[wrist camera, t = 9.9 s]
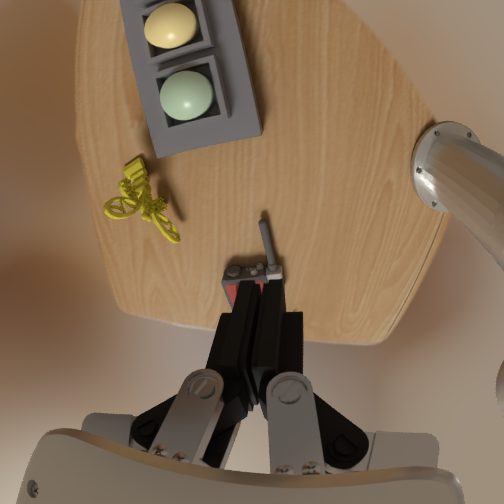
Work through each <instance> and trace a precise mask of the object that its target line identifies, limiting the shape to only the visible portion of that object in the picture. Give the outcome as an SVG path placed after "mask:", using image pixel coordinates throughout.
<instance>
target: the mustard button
mask: <svg viewBox="0 0 504 504" xmlns="http://www.w3.org/2000/svg"><path fill="white" fill-rule="evenodd" d="M199 30H200V22H199V18H198V16H197V15H196V14H195V13H194V12H192V11H191V10H190V9H188V8H187V7H186V6H184V5H182V4H178V3H170V4H166V5H163V6H161V7H159V8H157V9H156V10H154V11H153V12H152V13H151V14H150V16H149V17H148V19H147V21H146V23H145V27H144V33H145V37H146V39H147V40H148V41H149V42H150V43H151V44H153V45H155V46H158V47H162V48H166V49H171V50H175V49H178V48H181V47H184V46H187V45H189V44H190V43H191V42H192V41H193V40H194V39H195V38H196V37H197V35H198V33H199Z"/></svg>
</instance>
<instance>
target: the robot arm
mask: <svg viewBox="0 0 504 504" xmlns="http://www.w3.org/2000/svg"><path fill="white" fill-rule="evenodd" d="M434 132H435V133H434ZM417 167H418V168H417ZM411 176H412V182H413V185H414V188H415V190H416V192H417V194H418V196H419V197H420V198H421V200H422V201H423V202H424V203H425V204H426V205H427V206H429V207H430V208H431V209H433V210H436V211H438V212H445V213H446V212H451V213H452V214H453V215H454V216H455V217H456V218H457V219H458V220H459V221H460V222H461V223H462V224H463V225H464V227H465V228H467V230H468V231H469V232H470V233H471V234H472V235H473V236H474V237H475V238H476V239H477V240H478V242H479V243H480V244H481V245H482V246H483V247H484V248H485V249H486V251H487V252H488V253H489V254H490V255H491V257H492V258H493V259H494V260H495V261H496V262H497V264H498V265H499V266H500V267H501V269H502V270H503V271H504V156H503V155H501V154H499V153H497V152H495V151H493V150H491V149H489V148H487V147H485V146H483V145H481V144H480V142H479V140H478V138H477V137H476V135H475V134H474V133H473V132H472V131H471V130H470V129H469V128H468V127H466V126H464V125H462V124H460V123H457V122H453V121H444V122H439V123H437V124H434V125H432V126H431V127H430V128H428V129H427V130H426V131H425V132H424V133H423V134H422V136H421V137H420V139H419V140H418V142H417V144H416V146H415V149H414V151H413V155H412V160H411ZM496 397H497V402H498V405H499V408H500V410H501V412H502V414H503V416H504V361H503V362H502V364H501V367H500V369H499V372H498V375H497V379H496ZM259 402H260V405H261V409H262V412H263V415H264V418H265V419H266V420H267V421H268V435H269V453H270V473H271V474H261V473H250V472H240V471H232V470H224V467H225V465H226V463H227V460H228V457H229V455H230V452H231V449H232V447H233V444H234V441H235V438H236V436H237V433H238V430H239V427H240V424H241V420H242V419H244V418H245V417H247V414H248V411H253V406H254V405H258V403H259ZM438 455H439V442H438V441H437V439H436V437H434V436H433V435H432V434H428V433H400V432H382V431H376V433H373V432H363V431H362V430H361V429H360V428H359V427H357V426H356V425H354V424H353V423H352V422H351V421H349V420H348V419H347V418H345V417H344V416H343V415H341V414H340V413H339V412H337V411H336V410H335V409H334V408H332V407H331V406H330V405H329V404H327V403H326V402H325V401H324V400H322V399H321V398H319V396H317V395H316V394H315V393H314V392H313V388H312V385H311V382H310V381H309V380H308V378H307V377H305V376H304V375H303V312H286V303H285V293H284V283H283V279H269V281H268V283H264V284H263V289H262V292H261V286H260V283H257V284H256V283H255V280H241V281H240V283H239V286H238V290H237V294H236V298H235V302H234V306H233V310H232V313H222V314H221V316H220V319H219V323H218V326H217V330H216V333H215V337H214V340H213V344H212V347H211V350H210V354H209V357H208V361H207V365H206V368H205V369H200V370H196V371H194V372H192V373H191V374H189V375H188V376H187V377H186V379H185V380H184V382H183V384H182V386H181V388H180V390H179V392H178V394H176V395H174V396H173V397H171V398H169V399H168V400H166V401H164V402H162V403H160V404H159V405H157V406H155V407H153V408H151V409H150V410H148V411H146V412H144V413H142V414H140V415H139V416H136V417H135V416H133V415H129V414H128V415H127V414H126V415H125V414H107V413H91V414H89V415H87V416H86V418H85V419H84V421H83V423H82V428H81V430H77V429H70V428H59V429H54V430H50V431H49V432H47V433H45V435H44V436H43V437H42V438H41V439H40V441H39V442H38V444H37V446H36V448H35V450H34V452H33V454H32V456H31V459H30V461H29V464H28V466H27V469H26V472H25V475H24V478H23V481H22V484H21V488H20V491H19V495H18V498H17V503H16V504H465V503H464V495H463V491H462V487H461V484H460V482H459V480H458V479H457V477H456V476H455V475H454V474H453V473H451V472H449V471H446V470H443V469H439V468H437V462H438Z"/></svg>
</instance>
